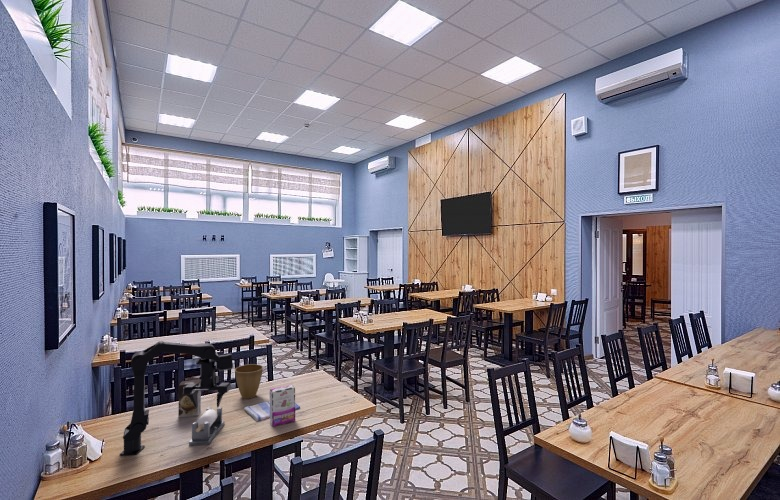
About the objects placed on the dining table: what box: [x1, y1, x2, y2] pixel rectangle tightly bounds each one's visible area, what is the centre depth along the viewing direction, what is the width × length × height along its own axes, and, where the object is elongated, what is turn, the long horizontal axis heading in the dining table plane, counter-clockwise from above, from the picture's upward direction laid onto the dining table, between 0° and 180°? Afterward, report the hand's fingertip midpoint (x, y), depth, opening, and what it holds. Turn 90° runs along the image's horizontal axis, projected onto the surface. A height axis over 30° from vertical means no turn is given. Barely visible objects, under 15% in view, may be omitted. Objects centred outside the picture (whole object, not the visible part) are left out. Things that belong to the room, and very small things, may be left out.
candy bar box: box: [269, 384, 296, 427], centre depth 178 cm, size 11×5×16 cm, turn 123°
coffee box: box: [177, 379, 202, 418], centre depth 186 cm, size 9×6×16 cm
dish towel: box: [244, 400, 301, 422], centre depth 192 cm, size 17×24×3 cm
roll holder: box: [188, 406, 225, 447], centre depth 166 cm, size 19×8×8 cm, turn 5°
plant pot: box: [234, 363, 264, 400], centre depth 209 cm, size 15×15×16 cm
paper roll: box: [195, 408, 217, 432], centre depth 166 cm, size 18×6×6 cm
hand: (207, 407), depth 166 cm, fingers open, 9 cm apart
